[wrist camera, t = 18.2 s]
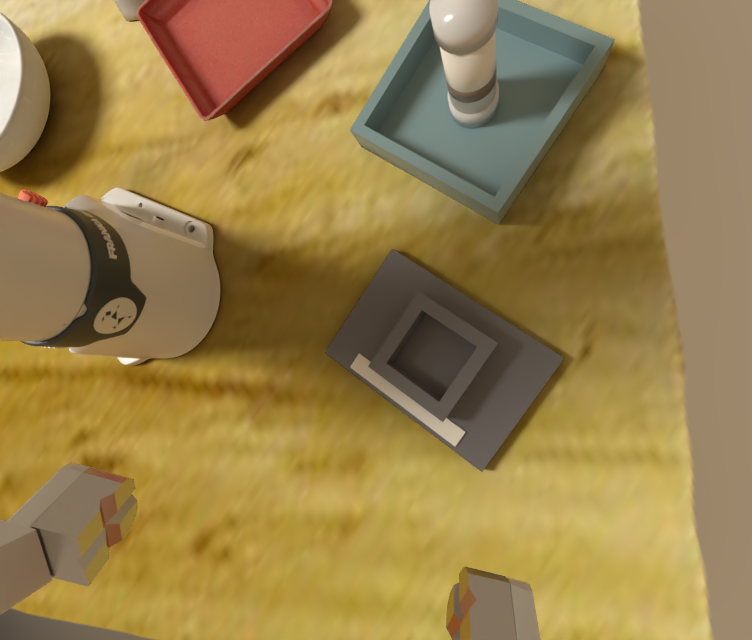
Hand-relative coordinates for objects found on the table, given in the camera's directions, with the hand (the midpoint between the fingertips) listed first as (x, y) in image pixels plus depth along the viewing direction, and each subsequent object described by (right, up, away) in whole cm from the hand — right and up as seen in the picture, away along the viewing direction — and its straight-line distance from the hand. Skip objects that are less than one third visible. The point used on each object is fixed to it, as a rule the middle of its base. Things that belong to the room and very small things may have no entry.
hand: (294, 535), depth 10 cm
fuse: (+11, +25, +29) cm, 40 cm away
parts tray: (+11, +25, +30) cm, 41 cm away
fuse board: (+8, +2, +30) cm, 31 cm away
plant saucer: (-13, +38, +39) cm, 56 cm away
